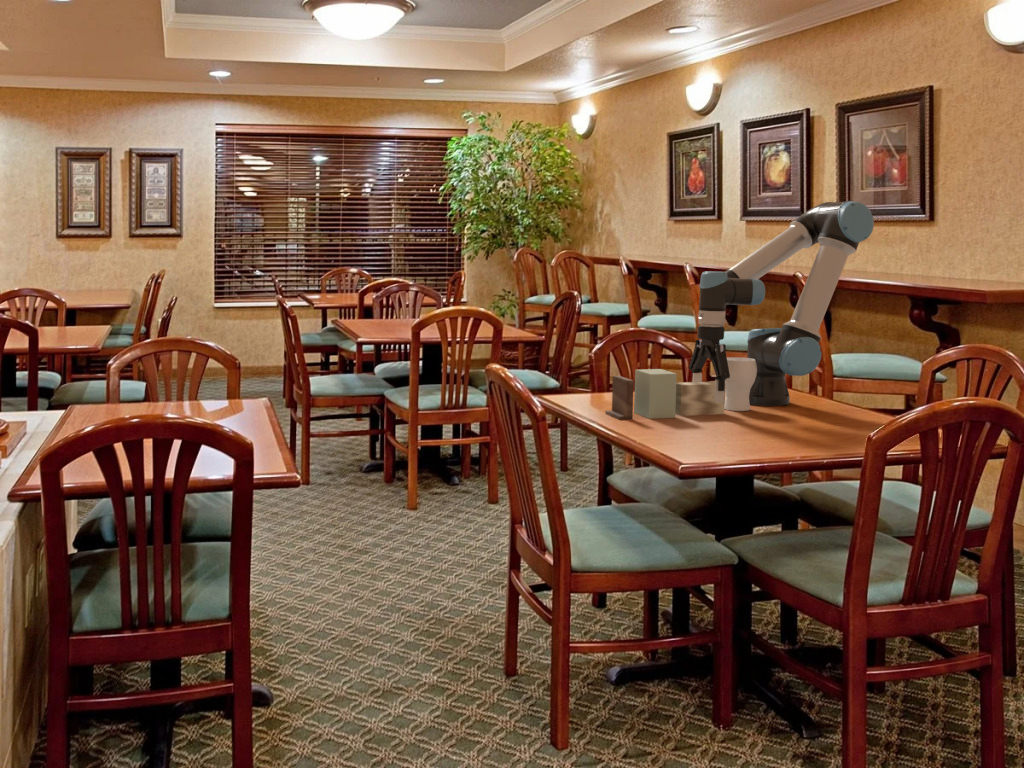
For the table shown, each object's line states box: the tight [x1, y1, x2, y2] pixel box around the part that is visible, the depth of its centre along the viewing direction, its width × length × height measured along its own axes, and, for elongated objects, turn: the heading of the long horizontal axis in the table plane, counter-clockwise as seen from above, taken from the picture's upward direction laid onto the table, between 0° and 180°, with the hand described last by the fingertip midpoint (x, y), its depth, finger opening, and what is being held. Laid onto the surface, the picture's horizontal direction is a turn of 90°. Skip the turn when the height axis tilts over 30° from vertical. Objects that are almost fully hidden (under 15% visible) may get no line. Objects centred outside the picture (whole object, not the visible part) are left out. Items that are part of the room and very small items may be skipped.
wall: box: [604, 375, 635, 421], centre depth 299 cm, size 4×10×11 cm, turn 18°
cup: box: [724, 356, 757, 412], centre depth 315 cm, size 11×11×15 cm
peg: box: [675, 380, 726, 417], centre depth 307 cm, size 14×5×9 cm, turn 108°
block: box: [633, 368, 678, 420], centre depth 303 cm, size 8×10×12 cm
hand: (707, 398), depth 308 cm, fingers open, 13 cm apart
